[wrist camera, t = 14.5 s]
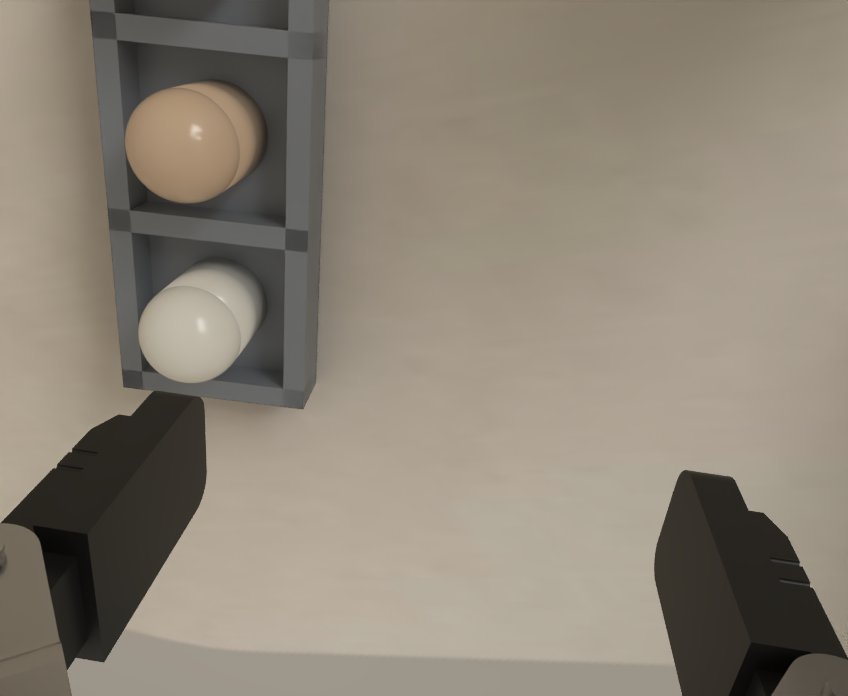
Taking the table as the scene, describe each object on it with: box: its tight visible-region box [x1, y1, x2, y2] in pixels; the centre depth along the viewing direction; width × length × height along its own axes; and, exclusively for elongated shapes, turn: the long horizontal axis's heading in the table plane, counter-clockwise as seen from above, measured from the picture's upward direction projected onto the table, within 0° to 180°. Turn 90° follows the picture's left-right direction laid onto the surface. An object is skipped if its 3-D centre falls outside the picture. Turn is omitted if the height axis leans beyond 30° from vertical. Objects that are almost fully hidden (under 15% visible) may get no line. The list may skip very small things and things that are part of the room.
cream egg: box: [138, 257, 267, 383], centre depth 33 cm, size 4×4×6 cm
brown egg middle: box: [125, 79, 268, 203], centre depth 30 cm, size 4×4×6 cm
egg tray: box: [89, 0, 329, 409], centre depth 32 cm, size 25×9×3 cm, turn 175°
